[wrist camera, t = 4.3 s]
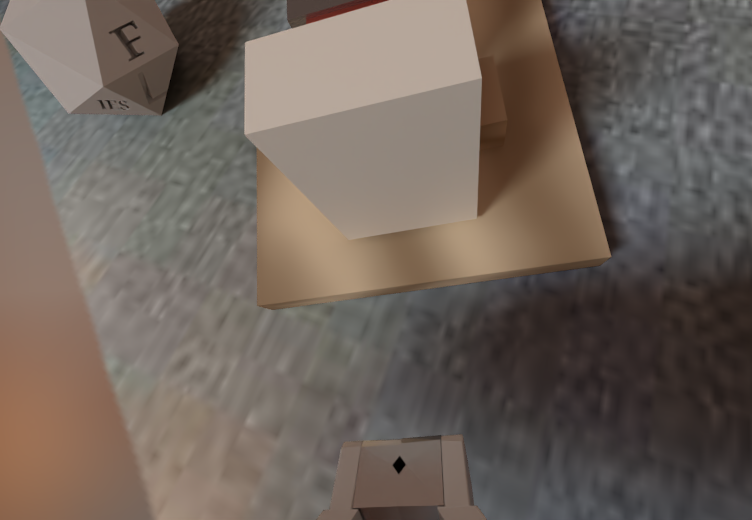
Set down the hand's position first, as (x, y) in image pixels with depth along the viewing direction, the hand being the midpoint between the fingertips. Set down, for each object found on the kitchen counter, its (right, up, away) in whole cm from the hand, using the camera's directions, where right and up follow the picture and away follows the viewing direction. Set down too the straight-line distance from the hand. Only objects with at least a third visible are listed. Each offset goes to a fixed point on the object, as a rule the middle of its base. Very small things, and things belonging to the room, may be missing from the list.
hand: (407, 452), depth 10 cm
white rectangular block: (+1, +8, +9) cm, 11 cm away
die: (-16, +17, +18) cm, 30 cm away
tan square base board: (+1, +11, +11) cm, 16 cm away
